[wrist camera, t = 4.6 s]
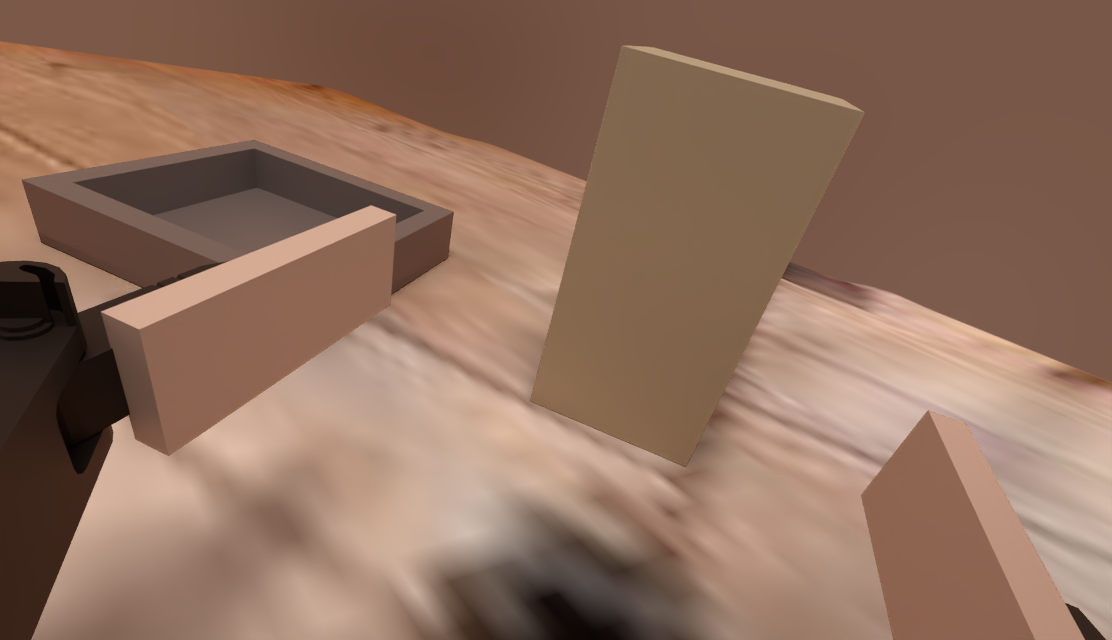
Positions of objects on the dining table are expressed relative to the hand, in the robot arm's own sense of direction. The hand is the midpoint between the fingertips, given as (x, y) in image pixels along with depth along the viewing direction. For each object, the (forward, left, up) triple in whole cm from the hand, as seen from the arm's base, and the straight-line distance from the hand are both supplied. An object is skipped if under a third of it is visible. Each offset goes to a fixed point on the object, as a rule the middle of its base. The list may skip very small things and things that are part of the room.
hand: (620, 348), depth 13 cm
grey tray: (+14, -17, -8) cm, 23 cm away
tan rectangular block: (-4, -8, -8) cm, 12 cm away
